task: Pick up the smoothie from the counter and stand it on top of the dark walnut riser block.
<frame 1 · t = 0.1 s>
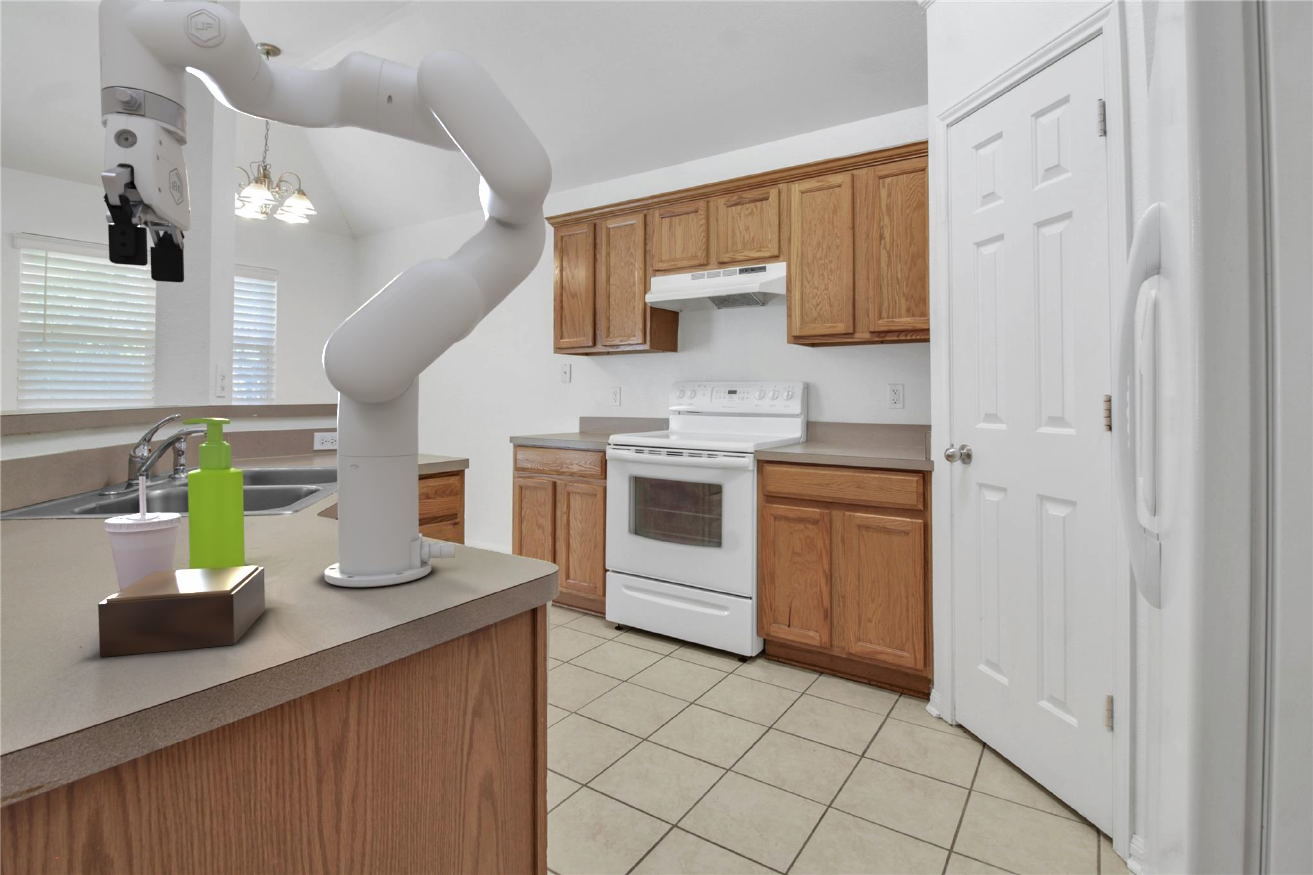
hand: (149, 273, 72), 37 cm above the counter, tool pointing down, fingers open, 9 cm apart
smoothie: (146, 608, 67), on the counter
soap dispenser: (214, 572, 82), on the counter
riser: (190, 631, 60), on the counter
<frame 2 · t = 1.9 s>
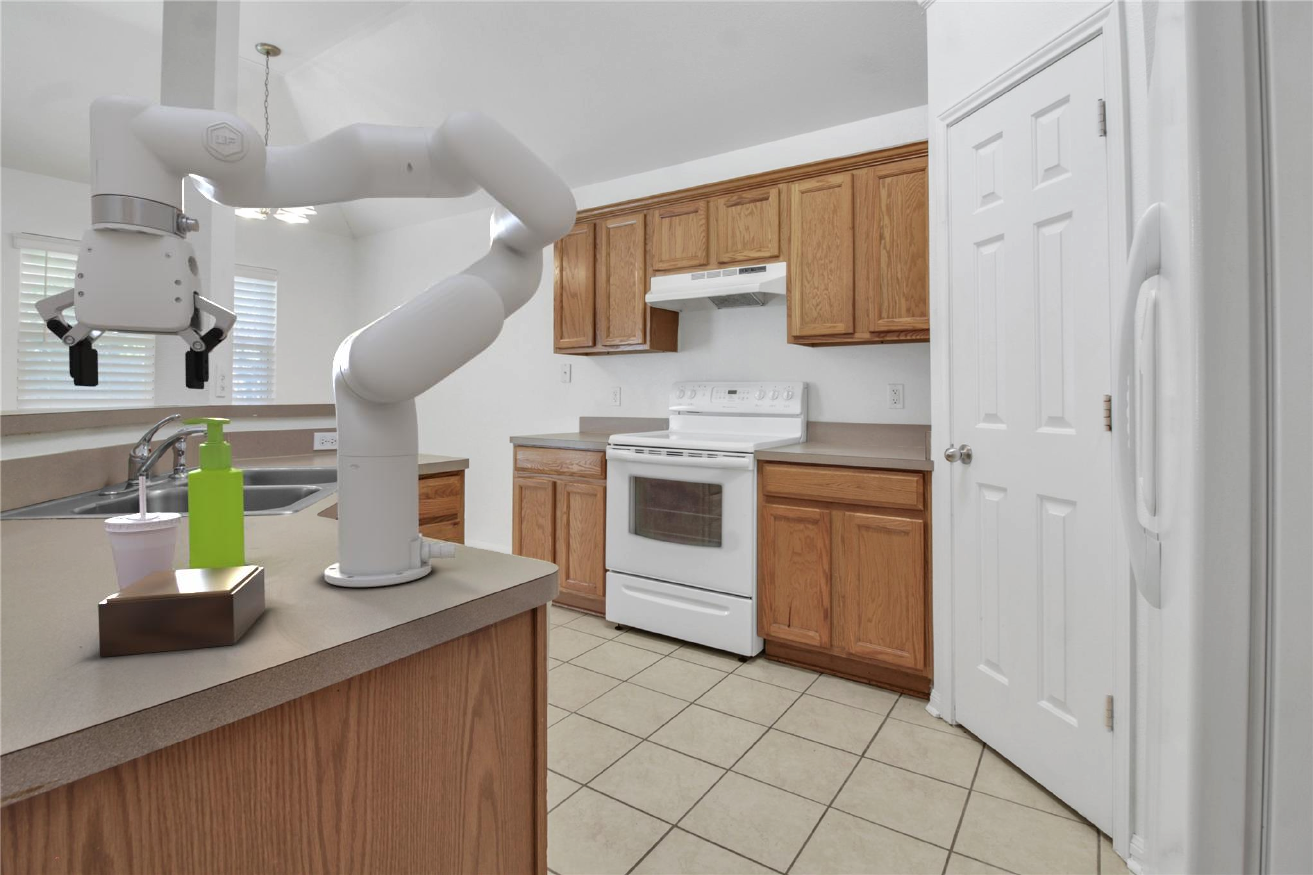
hand: (142, 387, 67), 24 cm above the counter, tool pointing down, fingers open, 9 cm apart
nothing on the counter moved.
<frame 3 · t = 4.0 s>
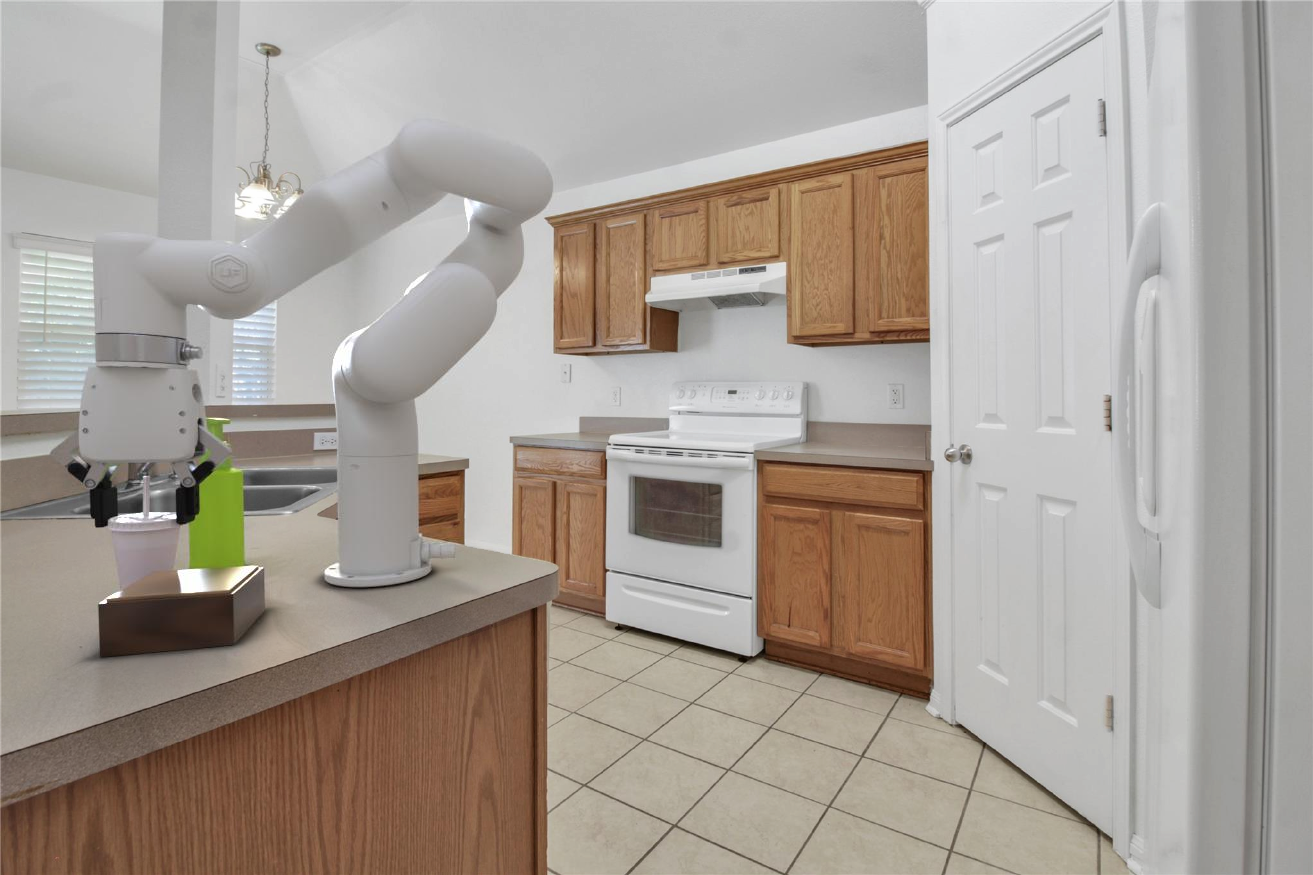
hand: (147, 522, 67), 9 cm above the counter, tool pointing down, fingers closed on smoothie, 6 cm apart
smoothie: (146, 608, 67), on the counter, touching gripper
everything else where it was.
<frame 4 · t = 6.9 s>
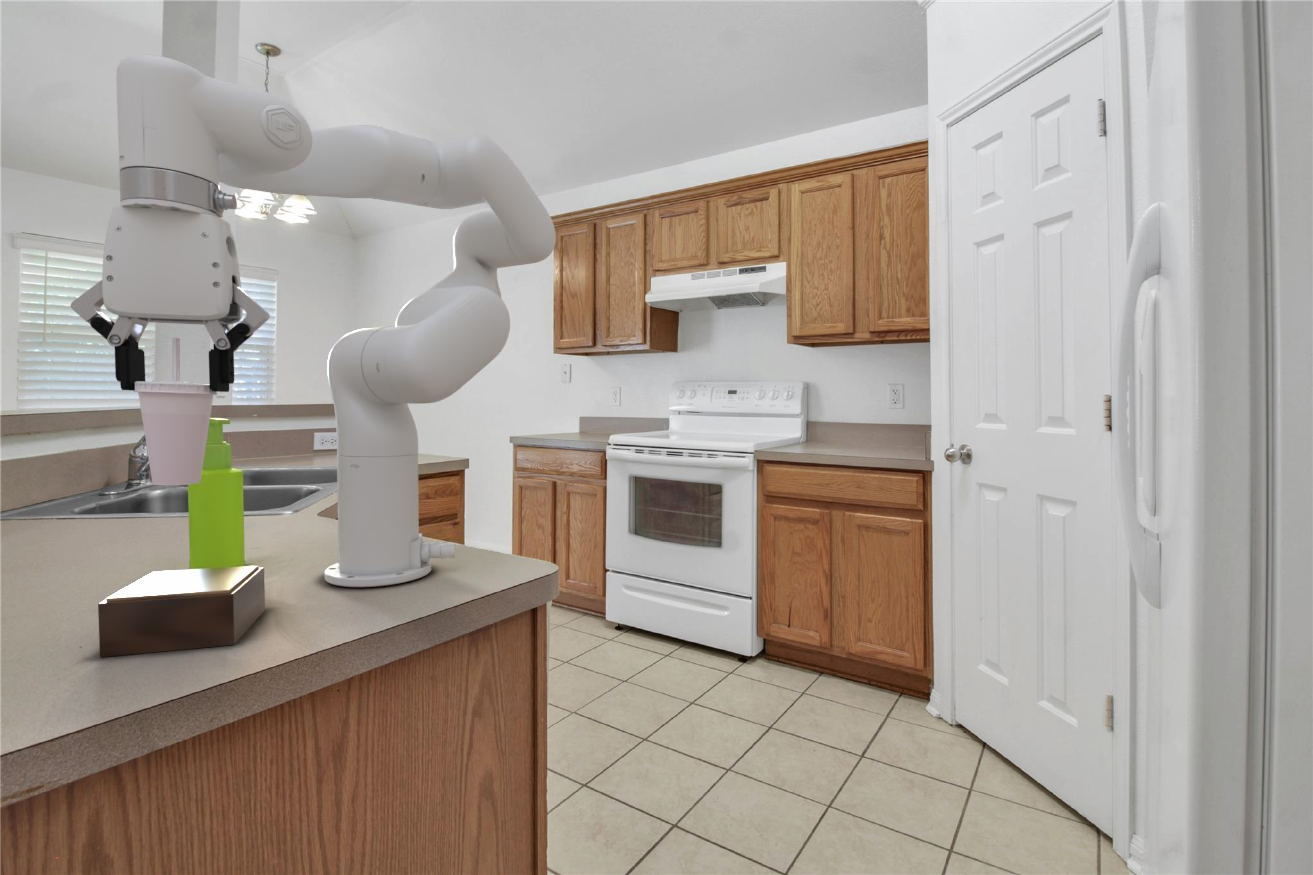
hand: (177, 389, 61), 23 cm above the counter, tool pointing down, fingers closed on smoothie, 6 cm apart
smoothie: (176, 485, 61), point 14 cm above the counter, touching gripper
everything else where it was.
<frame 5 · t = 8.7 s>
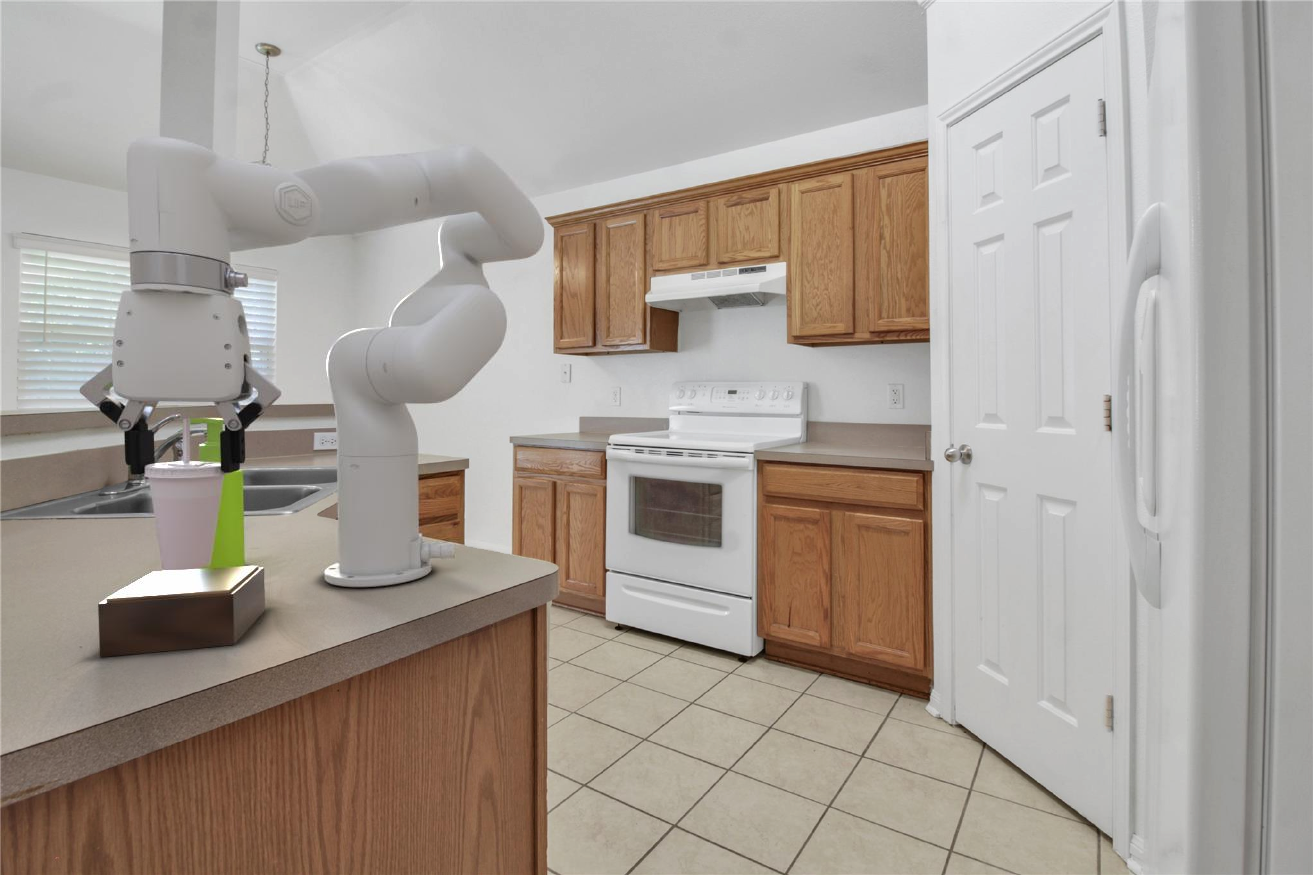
hand: (187, 470, 60), 16 cm above the counter, tool pointing down, fingers closed on smoothie, 6 cm apart
smoothie: (187, 567, 60), point 6 cm above the counter, touching gripper
everything else where it was.
when the fingers open (14 cm above the counter, at t = 9.7 s): smoothie stays where it is, resting on riser.
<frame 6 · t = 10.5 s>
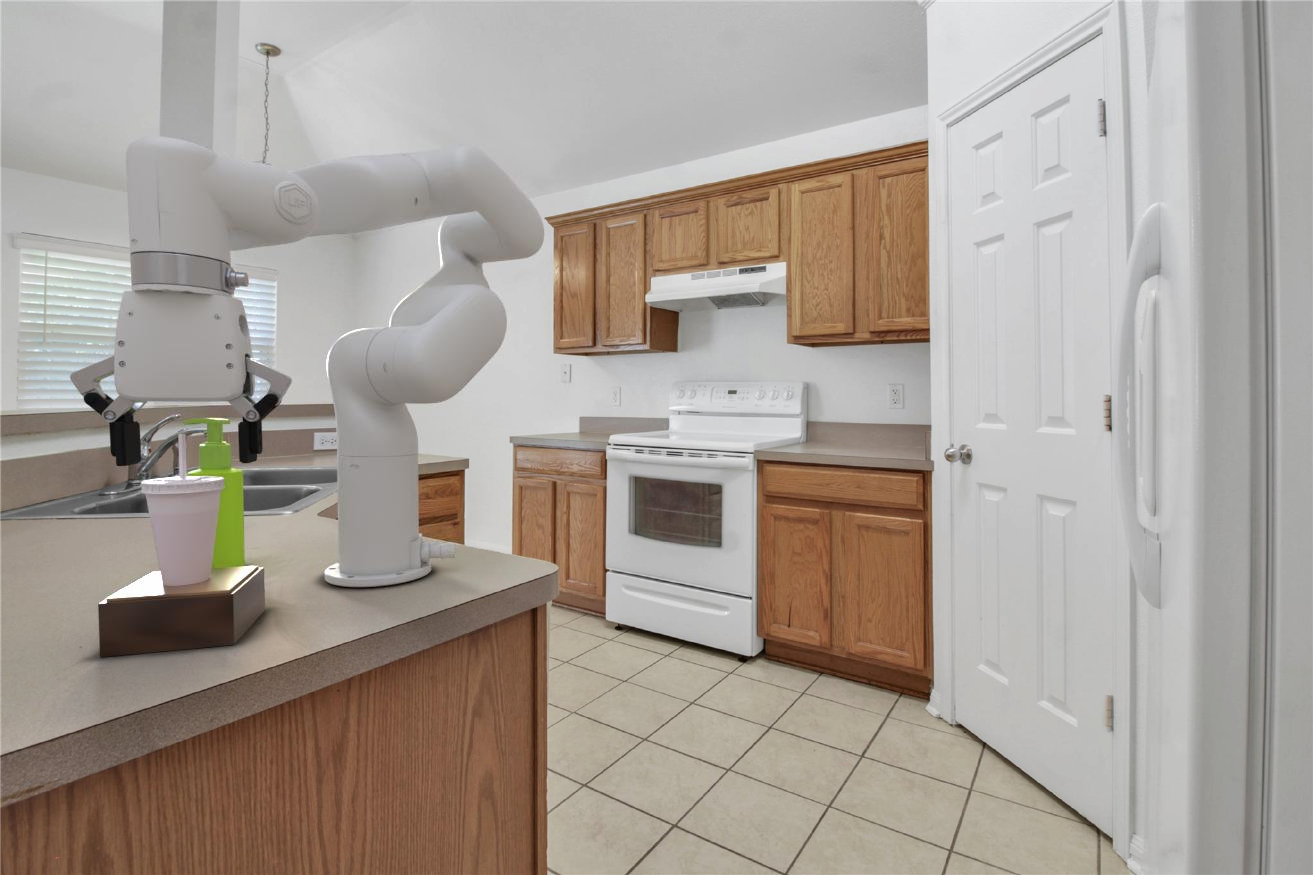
hand: (190, 463, 60), 16 cm above the counter, tool pointing down, fingers open, 9 cm apart
smoothie: (186, 582, 60), point 5 cm above the counter, touching riser
everything else where it was.
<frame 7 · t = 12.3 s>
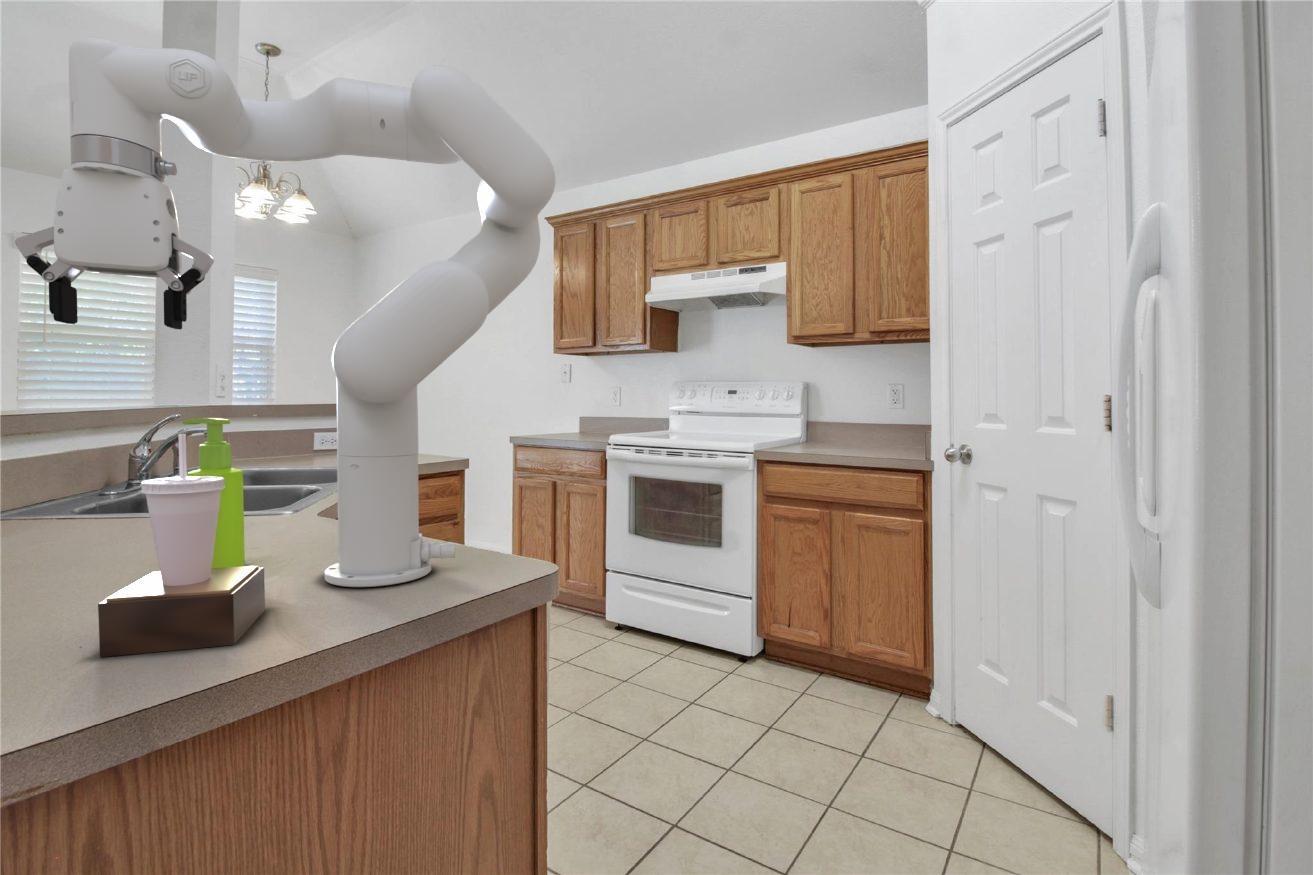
hand: (120, 325, 69), 30 cm above the counter, tool pointing down, fingers open, 9 cm apart
nothing on the counter moved.
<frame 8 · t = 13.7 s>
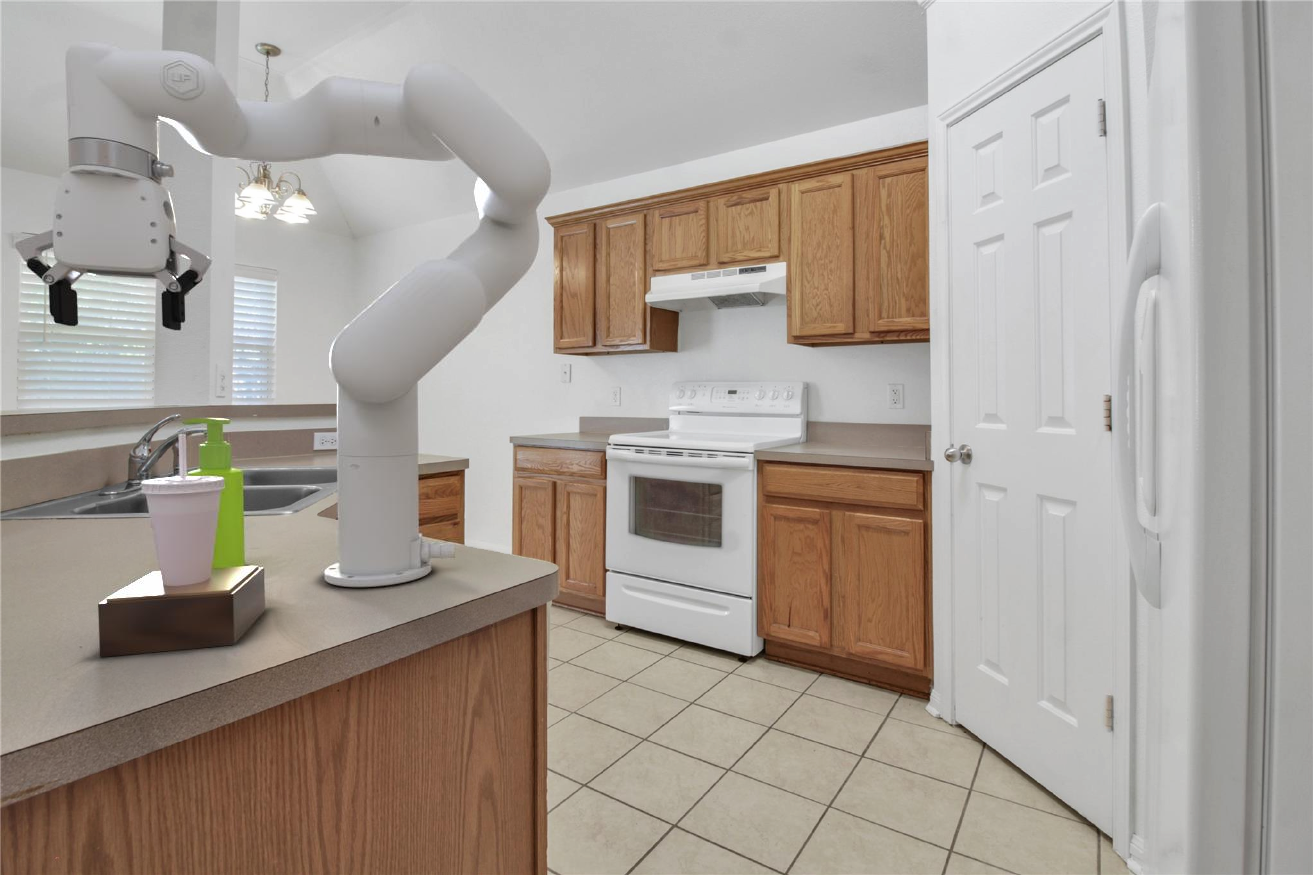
hand: (120, 326, 70), 30 cm above the counter, tool pointing down, fingers open, 9 cm apart
nothing on the counter moved.
at the end: smoothie inside the target area on the riser (0.2 cm from its centre), point 4.8 cm above the riser's base; smoothie tilted 0°; the gripper is holding nothing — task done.
